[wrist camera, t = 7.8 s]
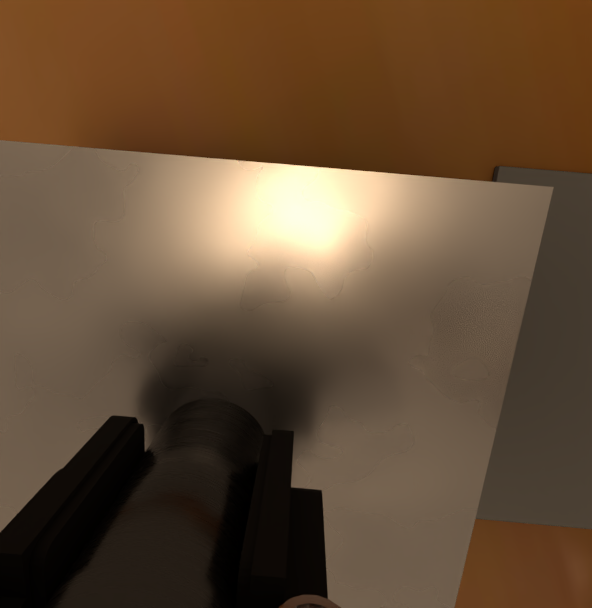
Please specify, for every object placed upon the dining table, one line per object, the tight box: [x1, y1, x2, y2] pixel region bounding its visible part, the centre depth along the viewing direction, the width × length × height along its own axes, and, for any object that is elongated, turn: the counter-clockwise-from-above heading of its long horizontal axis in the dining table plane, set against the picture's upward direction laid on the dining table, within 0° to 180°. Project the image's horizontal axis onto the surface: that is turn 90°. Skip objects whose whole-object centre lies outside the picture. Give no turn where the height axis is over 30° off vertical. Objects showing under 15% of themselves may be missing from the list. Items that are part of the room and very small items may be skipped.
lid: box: [0, 140, 554, 608], centre depth 8 cm, size 15×15×7 cm
